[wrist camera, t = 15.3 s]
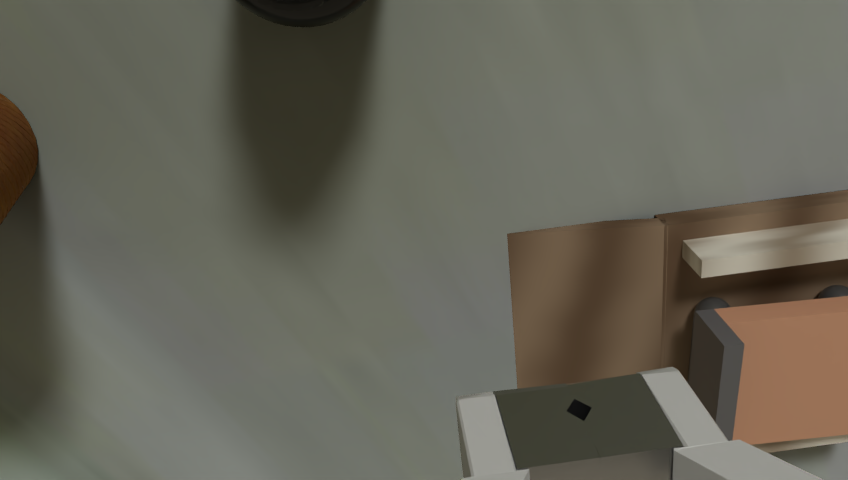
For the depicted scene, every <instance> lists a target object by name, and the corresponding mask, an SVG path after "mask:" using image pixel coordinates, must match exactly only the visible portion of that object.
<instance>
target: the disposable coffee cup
mask: <svg viewBox="0 0 848 480" xmlns="http://www.w3.org/2000/svg"><path fill="white" fill-rule="evenodd" d="M37 162H38V148H37V143H36V138H35V135H34V133H33V131H32V129H31V126H30V124H29V122H28V121H27V119H26V118H25V117H24V115H23V114H22V112H21V111H20V110H19V109H18V108H17V107H16V105H15V104H13V103H12V102H11V101H10V100H9V99H7V98H6V97H5V96H4V95H2V94H0V224H1V223H2V221H3V220H4V218H5V217H6V216H7V214H8V212H9V211H10V210H11V208H12V206H14V204H15V202H16V201H17V200H18V198H19V196H20V195H21V194H22V192H23V191H24V189H25V188H26V186H27V185H28V184H29V183H30V181H31V179H32V177H33V175H34V174H35V170H36V166H37Z"/></svg>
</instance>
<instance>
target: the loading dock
mask: <svg viewBox="0 0 848 480" xmlns="http://www.w3.org/2000/svg"><path fill="white" fill-rule="evenodd" d="M507 237H508V252H509V267H510V282H511V297H512V312H513V327H514V342H515V357H516V372H517V387H518V389H519V388H528V387H537V386H546V385H554V384H563V383H566V384H569V383H576V382H583V381H590V380H597V379H603V378H610V377H617V376H624V375H631V374H636V373H637V372H643V371H649V370H655V369H661V368H667V367H674V368H676V369H678V370H679V371H680V373H681V374H682V376H683V377H684V379H685V380H686V381H688V370H689V360H690V349H691V338H692V327H693V317H694V310H695V307H696V305H697V304H698V303H699V302H700V301H701V300H703V299H705V298H708V297H718V298H721V299H723V300H725V301H726V302H727V303H728V304H729V305H730V307H739V306H750V305H760V304H770V303H780V302H791V301H801V300H811V299H818V297H819V295H820V293H821V292H822V291H823V290H824V289H825V288H827V287H829V286H832V285H843V286H846V287H848V190H843V191H835V192H827V193H820V194H812V195H804V196H797V197H789V198H781V199H774V200H766V201H758V202H751V203H743V204H736V205H728V206H720V207H713V208H705V209H697V210H690V211H682V212H674V213H667V214H659V215H655V218H652V219H634V220H616V221H602V222H595V223H587V224H579V225H572V226H564V227H556V228H549V229H541V230H533V231H526V232H518V233H510V234H507ZM842 442H848V434H847V435H838V436H829V437H819V438H810V439H800V440H791V441H782V442H772V443H763V444H753V445H752V446H754V447H756V448H758V449H760V450H762V451H764V452H767V453H771V452H778V451H785V450H792V449H800V448H807V447H814V446H821V445H828V444H835V443H842Z"/></svg>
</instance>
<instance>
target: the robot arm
mask: <svg viewBox="0 0 848 480" xmlns="http://www.w3.org/2000/svg"><path fill="white" fill-rule="evenodd" d="M456 412H457V422H458V431H459V441H460V451H461V461H462V469H463V477H464V478H461V479H460V480H823V479H821V478H819V477H817V476H815V475H812V474H810V473H808V472H806V471H804V470H802V469H800V468H798V467H796V466H794V465H792V464H789V463H787V462H785V461H783V460H781V459H779V458H777V457H775V456H773V455H771V454H769V453H767V452H764V451H762V450H760V449H758V448H756V447H754V446H752V445H750V444H748V443H746V442H744V441H741V440H733V441H728V440H727V438H726V437H725V435H724V434H723V432H722V431H721V430H720V428H719V427H718V425H717V424H716V422H715V421H714V420H713V418H712V417H711V415H710V414H709V413H708V411H707V410H706V408H705V407H704V405H703V404H702V403H701V401H700V400H699V398H698V397H697V396H696V394H695V393H694V391H693V390H692V388H691V387H690V386H689V384H688V383H687V381H686V380H685V379H684V377H683V376H682V374H681V373H680V371H679V370H678V369H676V368H674V367H667V368H661V369H655V370H649V371H643V372H637V373H636V374H631V375H624V376H617V377H610V378H603V379H597V380H590V381H583V382H576V383H569V384H566V383H563V384H554V385H546V386H537V387H528V388H519V389H511V390H502V391H493V393H492V392H486V393H478V394H471V395H463V396H456Z"/></svg>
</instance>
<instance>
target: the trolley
mask: <svg viewBox="0 0 848 480" xmlns="http://www.w3.org/2000/svg"><path fill="white" fill-rule="evenodd" d="M687 383H688V384H689V386H690V387H691V388H692V390H693V391H694V393H695V394H696V396H697V397H698V398H699V400H700V401H701V403H702V404H703V405H704V407H705V408H706V410H707V411H708V413H709V414H710V415H711V417H712V418H713V420H714V421H715V422H716V424H717V425H718V427H719V428H720V430H721V431H722V432H723V434H724V435H725V437H726V438H727V440H728V441H733V440H741V441H744V442H746V443H748V444H750V445H753V444H763V443H772V442H782V441H791V440H800V439H810V438H819V437H829V436H838V435H847V434H848V287H846V286H843V285H832V286H829V287H827V288H825V289H824V290H823V291H822V292H821V293H820V295H819V297H818V299H811V300H801V301H791V302H780V303H770V304H760V305H750V306H739V307H730V305H729V304H728V303H727V302H726V301H725V300H723V299H721V298H718V297H708V298H705V299H703V300H701V301H700V302H699V303H698V304H697V305H696V307H695V310H694V317H693V327H692V338H691V349H690V360H689V370H688V381H687Z"/></svg>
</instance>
